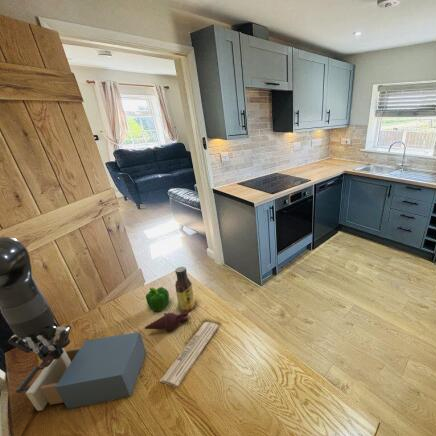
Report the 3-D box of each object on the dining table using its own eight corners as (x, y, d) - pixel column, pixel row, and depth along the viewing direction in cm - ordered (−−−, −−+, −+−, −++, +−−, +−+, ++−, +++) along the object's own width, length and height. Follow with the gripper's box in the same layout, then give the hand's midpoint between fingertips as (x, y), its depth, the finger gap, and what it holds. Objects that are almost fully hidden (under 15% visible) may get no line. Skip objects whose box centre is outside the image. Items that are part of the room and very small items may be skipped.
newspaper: (178, 388, 73) (177, 384, 72) (158, 381, 74) (157, 377, 74) (218, 327, 94) (218, 324, 93) (203, 323, 95) (202, 320, 95)
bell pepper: (174, 304, 104) (170, 286, 100) (156, 316, 98) (151, 298, 94) (163, 297, 108) (159, 279, 104) (145, 308, 102) (140, 290, 98)
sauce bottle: (191, 313, 100) (184, 274, 92) (177, 313, 100) (168, 274, 92) (197, 302, 106) (191, 265, 98) (184, 302, 106) (176, 264, 98)
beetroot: (143, 331, 84) (189, 320, 91) (143, 313, 89) (186, 303, 96) (145, 342, 87) (189, 329, 94) (145, 324, 93) (187, 313, 100)
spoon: (52, 368, 65) (48, 362, 64) (37, 370, 64) (33, 365, 63) (73, 338, 73) (70, 333, 73) (60, 340, 73) (57, 335, 72)
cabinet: (67, 409, 67) (54, 387, 63) (94, 360, 80) (85, 340, 76) (130, 396, 70) (121, 374, 66) (146, 351, 84) (139, 331, 80)
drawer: (14, 415, 64) (0, 398, 61) (48, 368, 77) (38, 351, 73) (97, 398, 69) (89, 381, 66) (118, 356, 81) (111, 339, 78)
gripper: (-20, 327, 56) (13, 375, 63) (49, 318, 59) (74, 364, 66) (7, 305, 63) (34, 350, 70) (68, 297, 66) (88, 341, 73)
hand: (53, 357), depth 68 cm, fingers closed on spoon, 2 cm apart
